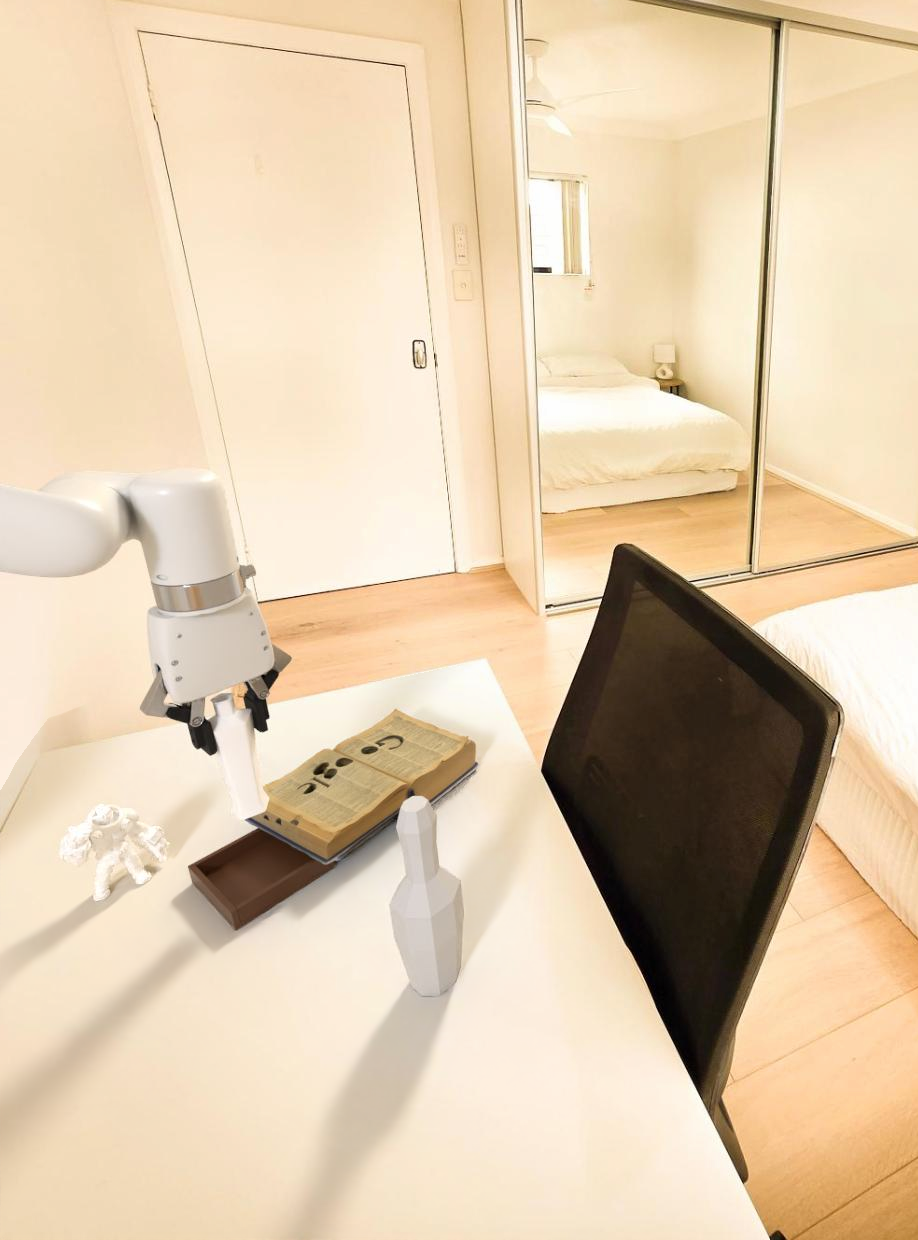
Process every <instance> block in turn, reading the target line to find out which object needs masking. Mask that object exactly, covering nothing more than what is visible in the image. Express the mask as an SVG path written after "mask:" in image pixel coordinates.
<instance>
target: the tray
mask: <svg viewBox="0 0 918 1240" xmlns="http://www.w3.org/2000/svg"><path fill="white" fill-rule="evenodd" d="M335 867H336V866H335V861H333V862H331V863H329V864H327V865H324V864H322V863H321V862H319V861H317V860H315V859H313V858H312V857H310V856H309V855H307V854H306V853H304V852H302V851H300V850H298V849H296V848H293V847H292V846H291V845H289V844H288V843H286V842H284V841H282V840H280V839H278V838H276V837H275V836H273V835H271V834H269V833H267V832H265V831H263V830H261V829H259V828H257V827H256V828H255V829H253V830H252V831H250V832H248V833H246V834H243V835H242V836H240V837H238V838H237V839H235V840H233V841H231V842H230V843H228V844H226V845H224V846H222V847H220V848H219V849H218V848H217V850H214V851H213V852H211V853H209V854H207V855H206V856H204V857H202V858H199V859H198V860H196V861H195V862H192V863H191V864H189V865H187V869H188V873H189V876H190V880H191V883H192V885H194V887H195V888H196V889H197V890H198V891H199V893H200V894H202V896H203V897H204V898H205V899H206V900H207V901H208V902H209V903H210V904H211V905H212V907H214V909H215V910H216V911H217V912H218V913H219V914H220V915H221V916H222V918H223V919H224V920H225V921H226V922H227V923H228V924H229V925H230V927H232V928H233V929H234V931H238V930H239V929H241V928H243V927H244V926H246V925H247V924H249V923H250V922H252V921H254V920H255V919H257V918H258V917H259V916H261V915H263V914H264V913H266V912H267V911H269V910H271V909H273V908H274V907H275V906H277V905H279V904H281V903H282V902H283V901H284V900H286V899H288V898H290V897H292V896H293V895H294V894H296V893H297V892H299V891H301V890H303V889H304V888H305V887H307V886H308V885H310V884H312V883H313V882H314V881H316V880H317V879H320V878H321V877H323V876H324V875H326V874H327V873H329V872H330V871H332V870H334V869H335Z"/></svg>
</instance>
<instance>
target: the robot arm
mask: <svg viewBox="0 0 918 1240" xmlns="http://www.w3.org/2000/svg"><path fill="white" fill-rule="evenodd" d="M131 540H136V541H138V542H139V543H140V545H141V549H142V551H143V552H142V553H143V555H144V560H145V564H146V568H147V572H148V575H149V580H150V585H151V588H152V593H153V597H154V600H155V606H152V607H150V608H149V609H147V614H146V616H147V617H146V625H147V626H146V629H147V631H146V632H147V633H146V634H147V643H148V651H149V658H150V659H149V660H150V664H151V671H152V676H153V682H152V684H151V685H150V687H149V689H148V691H147V692H146V695H145V696H144V698H143V700H142V702H141V704H140V705H139V710H140V711H141V712H142V713H143V714H144V715H145V716H148V717H155V718H156V717H157V718H163V719H164V718H166V719H169V720H172V721H176V722H179V723H184V724H186V725H187V729H188V733H189V737H190V740H191V744H192V746H193V747H194V749H196V750H200V749H201V750H202V751H203V752H204V753H206V754H207V755H208V756H210V757H212V756H214V754H216V752H217V746H216V742H215V738H214V734H213V730H212V725H211V723H210V722H209V721H208V719H207V718H206V716H205V707H206V698H207V697H209V696H211V695H215V694H217V693H219V692H222V691H225V690H228V689H230V688H233V687H235V686H238V685H241V684H243V685H244V687H245V689H246V692H245V693H243V696H242V698H243V699H242V700H243V703H244V709H251V711H252V718H253V724H254V730H256V731H257V732H259V733H265V732H267V731H269V727H268V722H267V721H268V720H269V719H270V712H269V707H268V702H267V699H268V697H270V693H271V692H270V690H271V688H272V687H273V685H274V684H275V682H276V681H277V680H278V678H279V676H280V673H282V672H283V671H284V670H285V669H286V667H287V666H288V665H289V664H290V663H291V661H292V659H293V657H292V656H291V654H289V653H287V652H285V651H284V650H283V649H281V648H280V647H278V646H277V645H275V644H273V643H272V641H271V637H270V636H271V635H270V633H269V630H268V626H267V624H266V621H265V619H264V615H263V613H262V611H261V608H260V606H259V604H258V601H257V599H256V597H255V595H254V593H253V591H252V590H251V589H250V588H249V587H248V586H247V583H246V582H247V580H249V579H250V578H252V577H255V576H256V575H257V571H256V570H257V569H256V568H255V566H254V565H253V564H246V565H245V564H240V560H239V556H238V555H239V554H238V551H237V545H236V540H235V536H234V531H233V524H232V520H231V515H230V511H229V506H228V502H227V495H226V491H225V487H224V483H223V481H222V479H221V478H220V477H219V475H218V474H217V473H216V472H214V471H212V470H210V469H206V468H199V467H176V468H167V469H166V468H165V469H160V470H154V471H149V472H131V471H130V472H127V471H126V472H125V471H108V470H77V471H72V472H71V471H70V472H67V473H64V474H61V475H58V476H55V478H52V479H51V480H49V481H48V482H47V483H45V485H43V486H42V487H40V488H39V489H38V490H35V489H29V488H24V487H18V486H14V485H9V484H5V483H0V573H1V572H2V573H8V574H12V575H20V576H27V577H28V576H29V577H35V578H36V577H37V578H72V577H78V576H83V575H86V574H89V573H92V572H95V571H97V570H98V569H100V568H102V567H104V566H106V565H107V564H108V563H109V562H110V561H112V559H113V558H114V557H115V556H116V555H117V553H118V552H119V551H120V549H121V548H122V545H123V544H125V543H128V542H129V541H131ZM168 695H169V696H170V698H171V700H172V702H165V700H166V698H167V696H168Z"/></svg>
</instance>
